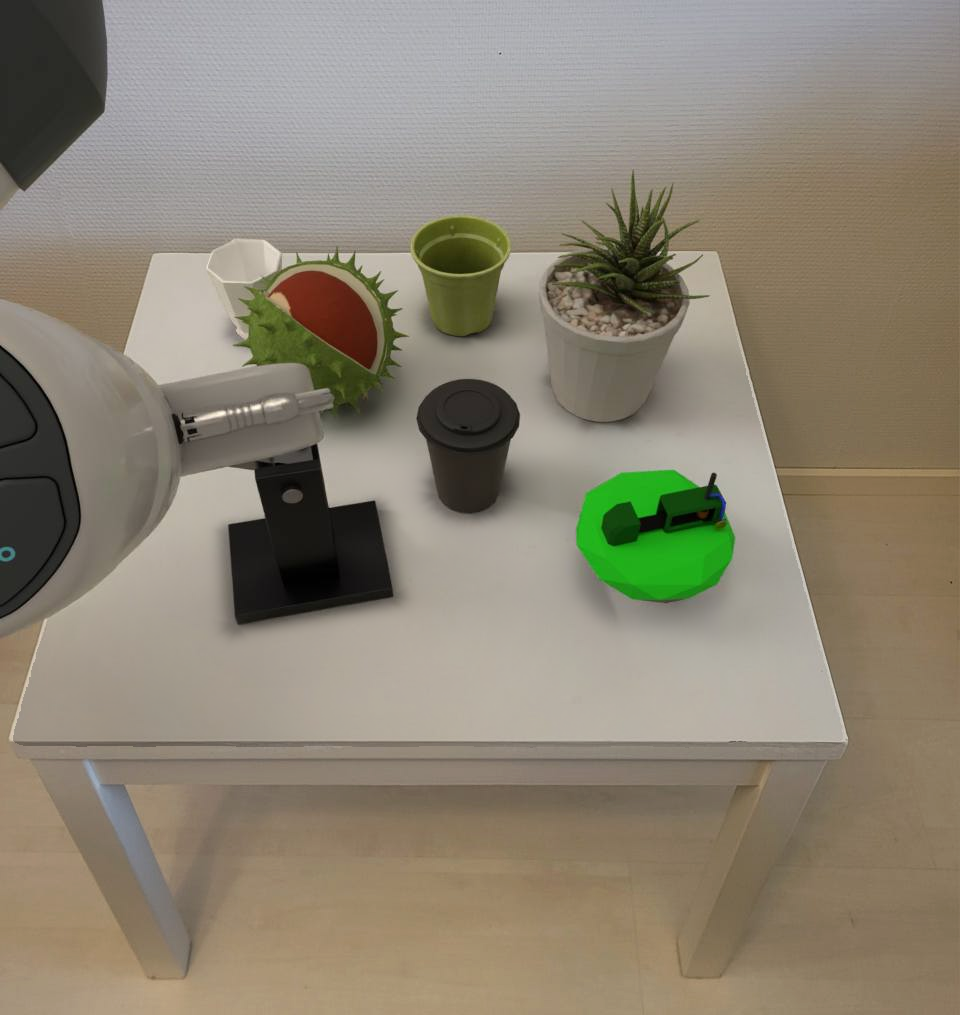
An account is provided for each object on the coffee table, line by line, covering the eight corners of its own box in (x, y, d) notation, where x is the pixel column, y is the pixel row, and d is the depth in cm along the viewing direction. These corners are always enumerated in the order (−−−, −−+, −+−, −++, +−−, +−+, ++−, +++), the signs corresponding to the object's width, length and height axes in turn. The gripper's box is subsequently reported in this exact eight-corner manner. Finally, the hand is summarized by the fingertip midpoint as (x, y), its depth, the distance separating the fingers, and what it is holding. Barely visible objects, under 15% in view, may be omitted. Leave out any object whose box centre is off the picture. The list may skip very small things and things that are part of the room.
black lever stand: (237, 624, 73) (198, 511, 62) (230, 532, 79) (193, 414, 68) (393, 597, 75) (381, 482, 64) (376, 509, 80) (362, 389, 70)
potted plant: (686, 443, 85) (735, 255, 70) (531, 437, 86) (546, 249, 70) (673, 347, 93) (715, 160, 78) (531, 343, 94) (544, 155, 78)
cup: (230, 359, 92) (212, 291, 85) (211, 295, 98) (193, 227, 91) (302, 342, 93) (290, 274, 87) (279, 281, 99) (266, 213, 93)
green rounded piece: (685, 499, 81) (711, 406, 73) (743, 612, 74) (780, 525, 66) (550, 526, 79) (560, 435, 71) (596, 646, 72) (614, 560, 64)
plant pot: (398, 334, 94) (393, 260, 87) (437, 278, 100) (435, 205, 93) (487, 359, 92) (488, 286, 85) (521, 301, 98) (525, 227, 91)
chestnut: (461, 295, 84) (375, 370, 73) (399, 403, 94) (316, 483, 83) (323, 191, 84) (217, 251, 73) (276, 310, 94) (176, 378, 83)
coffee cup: (440, 538, 79) (437, 456, 71) (407, 468, 83) (401, 384, 75) (531, 510, 80) (537, 427, 73) (494, 443, 85) (497, 359, 77)
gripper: (319, 312, 36) (303, 343, 49) (-292, 426, 32) (-128, 426, 45) (356, 477, 37) (330, 463, 50) (-235, 609, 33) (-91, 555, 46)
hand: (109, 446), depth 48 cm, fingers closed
